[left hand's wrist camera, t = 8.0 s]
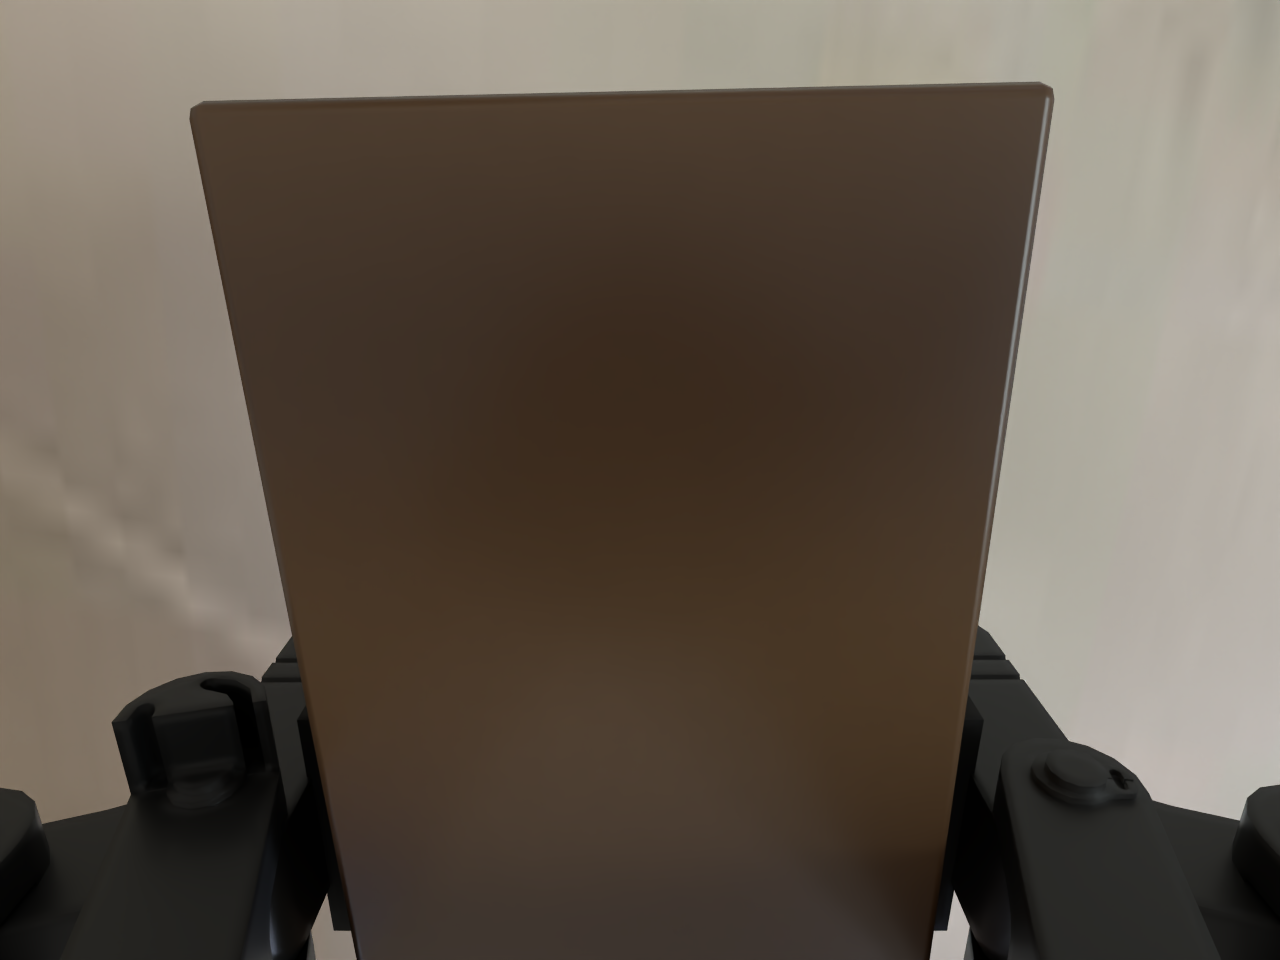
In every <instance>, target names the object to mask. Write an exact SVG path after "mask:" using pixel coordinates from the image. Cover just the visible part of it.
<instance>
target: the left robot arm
mask: <svg viewBox="0 0 1280 960" xmlns="http://www.w3.org/2000/svg"><path fill="white" fill-rule="evenodd" d="M1019 676H1020V675H1019V673H1018V672H1017V670H1016V669H1015V668H1014V666H1013V665H1012V664H1011V662H1010V661H1009V660H1006V659H1005V654H1004V653H1003V652H1002V650H1001V649H1000V648H999V646H998V645H997V643H996V642H995V641H994V639H993V638H992V637H991V635H990V634H989V633H988V632H987V631H986V630H984V629H983V628H981V627H980V626H978V628H977V635H976V642H975V649H974V656H973V663H972V670H971V677H970V684H969V690H968V697H967V704H966V711H965V718H964V725H963V732H962V739H961V746H960V753H959V759H958V766H957V773H956V780H955V787H954V794H953V801H952V808H951V815H950V822H949V828H948V835H947V842H946V849H945V856H944V863H943V870H942V877H941V884H940V891H939V897H938V904H937V911H936V918H935V925H934V931H947V927H948V921H949V916H950V910H951V904H952V899H953V893H954V890H955V893H956V895H957V897H958V900H959V902H960V904H961V907H962V909H963V911H964V914H965V916H966V918H967V921H968V923H969V925H970V929H969V934H968V939H967V944H966V950H965V955H964V960H1280V785H1274V786H1267V787H1260V788H1259V789H1258V790H1256V791H1255V792H1254V793H1253V794H1252V795H1250V796H1249V797H1248V798H1247V801H1246V804H1245V807H1244V810H1243V813H1242V816H1241V819H1240V821H1239V820H1234V819H1229V818H1225V817H1220V816H1216V815H1211V814H1206V813H1202V812H1197V811H1192V810H1188V809H1183V808H1179V807H1174V806H1170V805H1167V804H1163V803H1160V802H1156V801H1153V800H1152V799H1151V797H1150V795H1149V793H1148V791H1147V790H1146V789H1145V787H1144V786H1143V784H1142V783H1141V782H1140V780H1139V779H1138V778H1137V776H1136V775H1135V774H1134V773H1132V772H1131V771H1130V770H1128V769H1127V768H1126V767H1124V766H1123V765H1122V764H1121V763H1119V762H1118V761H1117V760H1115V759H1114V758H1112V757H1110V756H1108V755H1105V754H1103V753H1101V752H1099V751H1097V750H1095V749H1093V748H1091V747H1089V746H1086V745H1082V744H1078V743H1074V742H1070V741H1068V739H1067V738H1066V737H1065V735H1064V734H1063V733H1062V731H1061V730H1060V729H1059V727H1058V726H1057V724H1056V723H1055V722H1054V720H1053V719H1052V718H1051V716H1050V715H1049V714H1048V712H1047V711H1046V710H1045V708H1044V707H1043V706H1042V704H1041V703H1040V702H1039V700H1038V699H1037V697H1036V696H1035V695H1034V693H1033V692H1032V691H1031V689H1030V688H1029V687H1028V685H1027V684H1026V683H1025V681H1024V680H1020V677H1019ZM112 726H113V730H114V733H115V737H116V741H117V744H118V748H119V752H120V755H121V759H122V763H123V766H124V770H125V774H126V777H127V781H128V785H129V789H130V792H131V796H130V798H129V801H128V803H127V805H123V806H120V807H116V808H113V809H109V810H105V811H100V812H96V813H91V814H86V815H82V816H77V817H72V818H68V819H63V820H59V821H54V822H49V823H45V824H42V823H41V819H40V816H39V813H38V810H37V807H36V804H35V801H33V800H32V799H31V798H30V797H29V796H27V795H26V794H25V793H24V792H22V791H18V790H11V789H4V788H0V960H316V958H315V951H314V944H313V939H312V934H311V929H312V927H313V924H314V922H315V920H316V917H317V915H318V913H319V910H320V908H321V906H322V903H323V901H324V899H325V896H326V894H327V895H328V900H329V906H330V912H331V917H332V923H333V929H334V931H351V928H350V923H349V918H348V913H347V908H346V903H345V898H344V893H343V888H342V883H341V878H340V873H339V868H338V863H337V858H336V853H335V848H334V843H333V838H332V832H331V827H330V822H329V817H328V812H327V807H326V802H325V797H324V792H323V787H322V782H321V777H320V772H319V767H318V762H317V757H316V752H315V747H314V742H313V737H312V732H311V727H310V722H309V717H308V712H307V707H306V702H305V697H304V692H303V687H302V682H301V677H300V672H299V667H298V662H297V657H296V652H295V647H294V642H293V637H291V638H290V640H289V641H288V643H287V644H286V645H285V647H284V648H283V649H282V651H281V652H280V653H279V655H278V656H277V657H276V663H272V664H271V666H270V667H269V668H268V670H267V671H266V672H265V674H264V675H263V677H262V682H259V681H258V680H257V679H255V678H254V677H253V676H250V675H245V674H241V673H237V672H233V671H228V672H205V673H200V674H196V675H191V676H187V677H183V678H178V679H175V680H173V681H170V682H168V683H165V684H163V685H161V686H158V687H156V688H153V689H151V690H149V691H147V692H146V693H144V694H143V695H141V696H140V697H138V698H137V699H135V700H134V701H132V702H131V703H129V704H128V705H126V706H125V707H124V708H123V710H122V711H121V712H120V713H119V714H118V716H117V717H116V718H115V719H114V720H113V721H112Z"/></svg>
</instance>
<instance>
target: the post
mask: <svg viewBox="0 0 1280 960" xmlns="http://www.w3.org/2000/svg"><path fill="white" fill-rule="evenodd" d="M1053 104H1054V95H1053V89H1052V88H1051V87H1050V86H1048V85H1045V84H1043V83H1041V82H1006V83H963V84H920V85H877V86H834V87H791V88H748V89H705V90H662V91H619V92H576V93H533V94H490V95H447V96H404V97H361V98H318V99H275V100H232V101H203V102H201V103H199V104H197V105H195V106H194V107H192V108H191V111H190V124H191V129H192V134H193V139H194V144H195V149H196V154H197V159H198V164H199V169H200V174H201V179H202V184H203V189H204V194H205V199H206V204H207V209H208V214H209V219H210V224H211V229H212V235H213V240H214V245H215V250H216V255H217V260H218V265H219V270H220V275H221V280H222V285H223V290H224V295H225V300H226V305H227V310H228V315H229V320H230V325H231V330H232V335H233V340H234V345H235V350H236V355H237V360H238V365H239V370H240V375H241V380H242V385H243V390H244V395H245V400H246V405H247V410H248V415H249V420H250V425H251V430H252V436H253V441H254V446H255V451H256V456H257V461H258V466H259V471H260V476H261V481H262V486H263V491H264V496H265V501H266V506H267V511H268V516H269V521H270V526H271V531H272V536H273V541H274V546H275V551H276V556H277V561H278V566H279V571H280V576H281V581H282V586H283V591H284V596H285V601H286V606H287V611H288V616H289V621H290V626H291V631H292V637H293V642H294V647H295V652H296V657H297V662H298V667H299V672H300V677H301V682H302V687H303V692H304V697H305V702H306V707H307V712H308V717H309V722H310V727H311V732H312V737H313V742H314V747H315V752H316V757H317V762H318V767H319V772H320V777H321V782H322V787H323V792H324V797H325V802H326V807H327V812H328V817H329V822H330V827H331V832H332V838H333V843H334V848H335V853H336V858H337V863H338V868H339V873H340V878H341V883H342V888H343V893H344V898H345V903H346V908H347V913H348V918H349V923H350V928H351V933H352V938H353V943H354V948H355V953H356V958H357V960H930V953H931V946H932V939H933V932H934V925H935V918H936V911H937V904H938V897H939V891H940V884H941V877H942V870H943V863H944V856H945V849H946V842H947V835H948V828H949V822H950V815H951V808H952V801H953V794H954V787H955V780H956V773H957V766H958V759H959V753H960V746H961V739H962V732H963V725H964V718H965V711H966V704H967V697H968V690H969V684H970V677H971V670H972V663H973V656H974V649H975V642H976V635H977V628H978V621H979V615H980V608H981V601H982V594H983V587H984V580H985V573H986V566H987V559H988V552H989V546H990V539H991V532H992V525H993V518H994V511H995V504H996V497H997V490H998V483H999V477H1000V470H1001V463H1002V456H1003V449H1004V442H1005V435H1006V428H1007V421H1008V414H1009V408H1010V401H1011V394H1012V387H1013V380H1014V373H1015V366H1016V359H1017V352H1018V345H1019V339H1020V332H1021V325H1022V318H1023V311H1024V304H1025V297H1026V290H1027V283H1028V276H1029V270H1030V263H1031V256H1032V249H1033V242H1034V235H1035V228H1036V221H1037V214H1038V207H1039V201H1040V194H1041V187H1042V180H1043V173H1044V166H1045V159H1046V152H1047V145H1048V138H1049V132H1050V125H1051V118H1052V111H1053Z"/></svg>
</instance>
